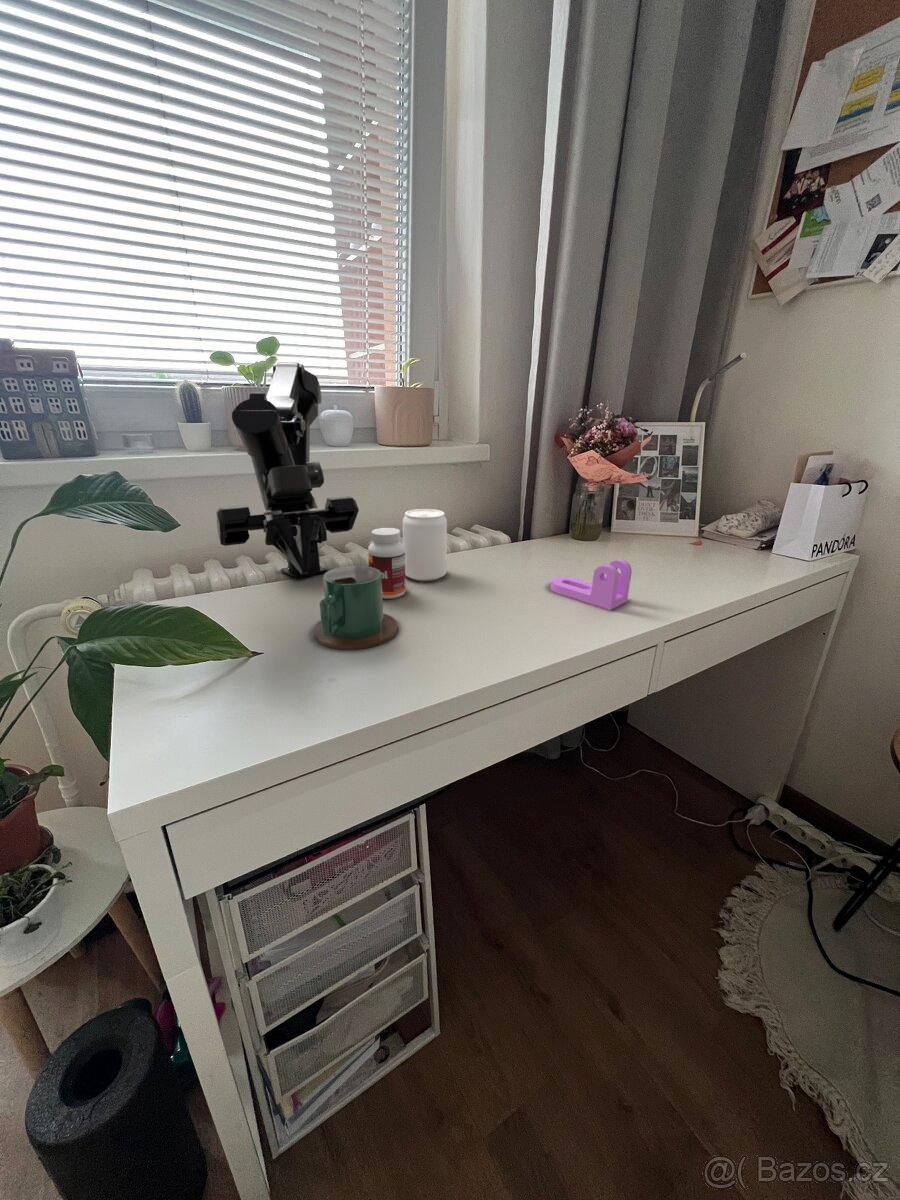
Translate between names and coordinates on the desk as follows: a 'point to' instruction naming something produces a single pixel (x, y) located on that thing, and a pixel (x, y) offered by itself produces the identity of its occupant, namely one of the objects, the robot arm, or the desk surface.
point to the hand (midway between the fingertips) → (305, 572)
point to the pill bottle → (388, 561)
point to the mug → (352, 602)
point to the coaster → (361, 643)
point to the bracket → (598, 585)
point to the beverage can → (425, 544)
